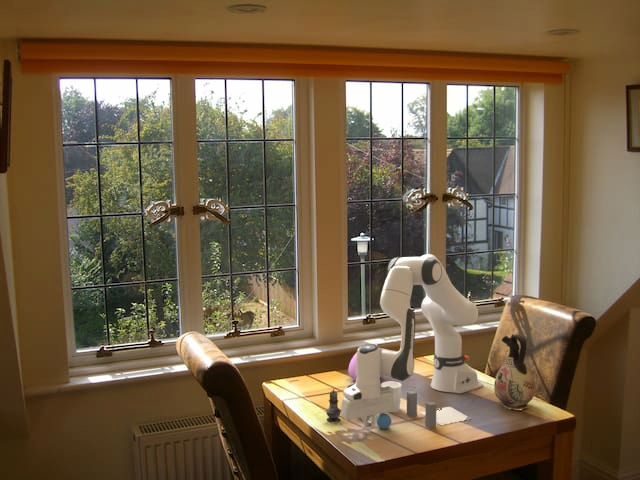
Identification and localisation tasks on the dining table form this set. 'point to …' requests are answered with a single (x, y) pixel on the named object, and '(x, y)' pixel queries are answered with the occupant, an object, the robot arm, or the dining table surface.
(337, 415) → the grey chess piece
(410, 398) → the post
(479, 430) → the dining table surface
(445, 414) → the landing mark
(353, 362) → the teapot
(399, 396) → the white cup
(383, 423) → the ball
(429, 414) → the post
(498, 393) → the ceramic jug
